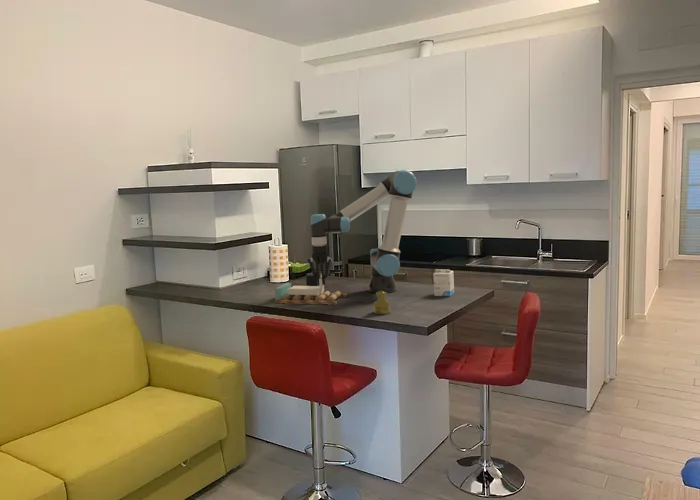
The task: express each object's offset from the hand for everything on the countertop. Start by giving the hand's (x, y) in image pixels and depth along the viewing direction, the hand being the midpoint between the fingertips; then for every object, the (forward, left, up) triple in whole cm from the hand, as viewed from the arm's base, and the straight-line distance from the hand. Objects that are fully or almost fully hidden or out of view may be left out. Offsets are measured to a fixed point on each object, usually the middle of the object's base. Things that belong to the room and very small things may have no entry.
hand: (322, 291), depth 281 cm
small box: (+11, -18, -5) cm, 22 cm away
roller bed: (+6, 0, -5) cm, 7 cm away
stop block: (+21, 0, -5) cm, 22 cm away
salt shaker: (-36, +22, -5) cm, 43 cm away
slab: (+9, 0, -1) cm, 9 cm away
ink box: (-59, -19, -5) cm, 62 cm away
